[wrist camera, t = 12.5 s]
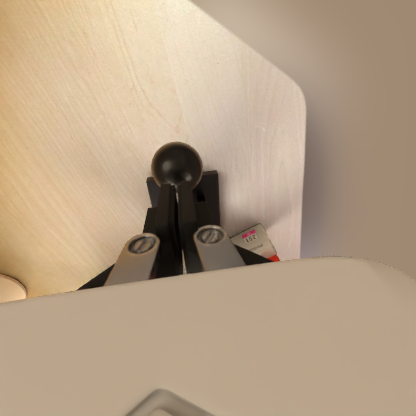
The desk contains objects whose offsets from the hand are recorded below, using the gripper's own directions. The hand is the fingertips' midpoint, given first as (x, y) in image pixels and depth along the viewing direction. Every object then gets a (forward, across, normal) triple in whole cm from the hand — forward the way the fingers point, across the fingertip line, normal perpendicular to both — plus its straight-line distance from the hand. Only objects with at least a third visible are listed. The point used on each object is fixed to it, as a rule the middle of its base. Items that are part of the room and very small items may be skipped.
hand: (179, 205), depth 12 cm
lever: (+6, 0, +4) cm, 7 cm away
